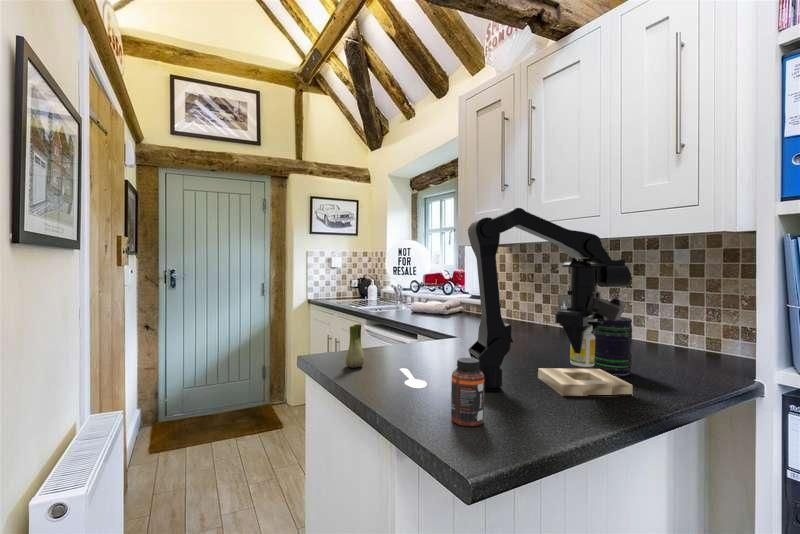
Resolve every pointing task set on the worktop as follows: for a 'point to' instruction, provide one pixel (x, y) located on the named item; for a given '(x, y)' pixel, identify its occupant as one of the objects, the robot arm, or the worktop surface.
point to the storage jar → (613, 346)
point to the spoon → (413, 380)
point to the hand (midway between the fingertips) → (581, 351)
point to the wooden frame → (583, 382)
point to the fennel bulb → (355, 348)
